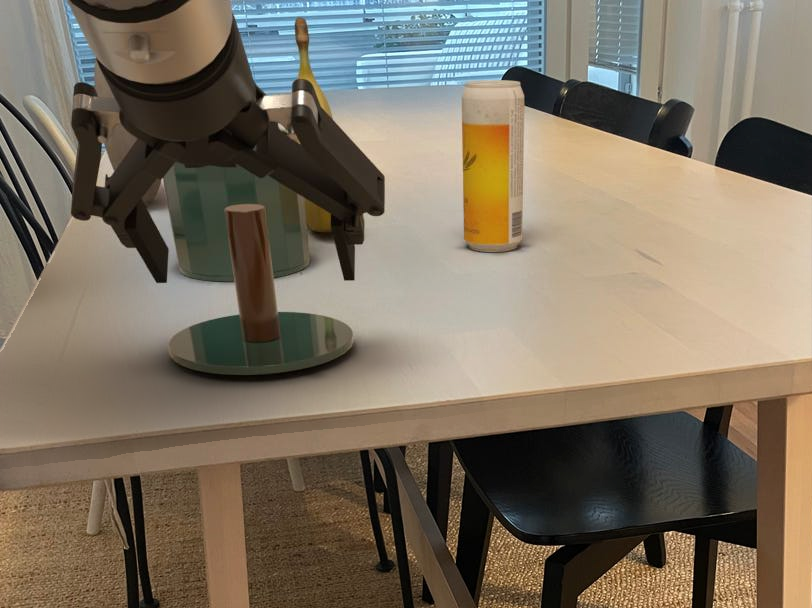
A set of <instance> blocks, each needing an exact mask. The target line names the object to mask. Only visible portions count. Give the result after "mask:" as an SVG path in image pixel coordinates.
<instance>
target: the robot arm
mask: <svg viewBox="0 0 812 608" xmlns="http://www.w3.org/2000/svg"><path fill="white" fill-rule="evenodd" d="M66 2H67V4H68V6H69V8H70V10H71V12H72V15H73V16H74V19H75V20H76V22H77V24H78V26H79V28H80V30H81V32H82V34H83V36H84V39H85V41H86V42H87V44H88V46H89V49H90V50H91V51H92V53H93V56H95V61H96V60H97V63H98V65H99V67H100V69H101V71H102V73H103V75H104V77H105V79H106V81H107V83H108V85H109V87H110V89H111V91H112V93H113V95H114V97H115V98H108V97H98V94H97V92H96V90H95V86H93V85H92V84H90V83H87V82H84V81H80V82H76V83H75V84H74V85H73V95H72V106H71V121H70V125H71V128H72V131H73V134H74V136H75V138H76V140H77V151H76V158H75V164H74V173H73V178H72V192H71V206H70V215H71V216H72V217H73V218H74V219H75V220H78V221H82V222H83V221H86V222H87V221H89V220H90V219H91V217H97V218H101V219H102V221H103V222H104V224H106V225H108V226H110V227H111V229H112V230H113V233H115V235H116V237H117V239H118V240H119V242H120V243H121V245H123V246H124V247H125V248H126V249H136V251H137V253H138V254H139V256H140V258H141V260H142V261H143V263H144V264H145V267H146V268H147V269H148V271H149V273H150V275H151V276H152V278H153V279H154V281H155V283H156V284H168V270H169V269H168V267H169V253H170V252H169V251H170V249H169V247H168V245H167V243H166V242H165V240H164V238H163V236H162V234H161V232H160V230H159V228H158V226H157V224H156V223H155V221H154V219H153V218H152V216H151V213H150V211H149V210H148V208H147V206H146V204H144V202H143V200H142V199H141V198H142V197H143V196H144V195H145V193H146V192H147V191H148V190H149V188H150V187H151V186H152V184H153V183H154V182H155V181H156V179H160V180H161V181H162V180H163V177H164V176H165V175H166V173H167V172H168V171H169V170H170V168H171V167H172V166H173V164H174V163H175V162H177V163H180V164H184V166H185V168H199V167H204V166H209V165H211V166H218V167H236V164H237V165H239V166H241V167H242V168H244V169H246V170H247V171H249V172H251V173H252V174H254V175H256V176H257V177H259V178H265V177H266V176H270V177H271V178H273V179H275V180H276V181H278V182H279V183H281V184H283V185H284V186H286V187H288V188H289V189H291V190H293V191H294V192H296V193H297V194H299V195H301V196H302V197H304V198H306V199H307V200H309V201H311V202H312V203H314V204H316V205H317V206H319V207H320V208H322V209H324V210H325V211H327V212H329V213H330V214H331V230H332V232H331V233H332V239H333V241H334V245H335V250H336V254H337V258H338V261H339V266H340V269H341V273H342V278H343V281H347V282H348V281H349V282H350V281H353V282H354V281H355V280H356V279H355V277H356V276H355V275H356V245H357V246H359V245H363V244H364V242H365V217H364V214H366V213H367V215H369V216H372V217H381V216H383V215H384V214H385V211H386V210H385V204H386V203H385V202H386V198H385V197H386V177H385V175H384V173H382V172H381V170H380V169H379V168H378V167H377V166H376V165H375V163H374V162H373V161H371V159H370V158H369V157H368V156H367V155H366V154H365V153H364V152H363V150H361V148H359V146H358V145H357V144H356V143H355V142H354V141H353V140H352V138H350V136H349V135H348V134H347V133H346V132H345V131H344V130H343V129H342V128H341V127H340V126H339V124H338V123H337V122H336V121H335V120H334V118H333V119H332V118H331V117H330V116H329V115H328V114H327V113H326V112H325V110H324V109H323V108H322V107H321V105H320V103H319V100H318V97H317V95H316V92H315V90H314V87H313V85H312V83H311V82H309V81H308V80H305V79H297V78H296V79H295V80H293V82H292V84H291V92H289V93H288V92H287V93H278V94H270V95H269V94H268V95H267V94H266V92H265V91H264V90H263V89H262V88H260V87H259V86H258V85H257V83H256V81H255V80H254V77H253V73H252V69H251V66H250V62H249V59H248V56H247V53H246V49H245V46H244V43H243V40H242V36H241V33H240V30H239V27H238V23H237V20H236V17H235V15H234V13H233V7H232V2H231V0H66ZM276 122H277V123H278V124H277V123H276ZM119 124H122V126H123V127H124V129H125V130H126V131H127V132H129V133H130V134H131V135H133V136H135V137H136V138H138V139H137V140H136V142H135V143H134V144H133V146H132V147H131V149H130V150H129V151H128V153H127V154H126V156H125V157H124V158H123V160H122V161H121V163H120V164H119V165H118V167H117V168H116V170H115V171H114V170H113V172H112V173H111V175H110V176H108V175H109V174H107V173H106V174H105V177H104V186H100V185H97V183H98V177H99V171H100V166H101V161H102V160H101V159H102V150H103V149H102V148H103V144H104V143H106V142H107V139H108V136H109V135H112V134H113V132H114V127H115V126H116V125H119ZM279 125H281V126H282V127H283V129H286V130H287V131H288V136H287V135H286V134H284V133H283V132H281V130H280V129H281V128H280V126H279ZM279 128H280V129H279ZM296 139H298V140H299V142H300V144H299V143H298V142H296V141H295V140H296ZM255 145H256V151H254V150H253V148H254V147H255Z"/></svg>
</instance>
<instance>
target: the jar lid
mask: <svg viewBox="0 0 812 608" xmlns="http://www.w3.org/2000/svg"><path fill="white" fill-rule="evenodd" d="M224 211H225V218H226V225H227V232H228V239H229V246H230V253H231V260H232V267H233V274H234V281H233V282H234V285H235V286H234V287H235V295H236V301H237V309H238V314H233V315H227V316H222V317H217V318H213V319H209V320H205V321H202V322H198V323H196V324H193V325H191V326H188V327H186V328H183V329H182V330H180V331H178V332H177V333H175V334H174V335H173V336H172V337H171V338H170V339H169V341H168V344H167V349H168V354H169V356H170V359H172V360H173V361H174V362H175V363H176V364H178V365H180V366H181V367H185V368H187V369H190V370H194V371H198V372H202V373H209V374H214V375H215V374H216V375H228V376H229V375H230V376H234V375H235V376H255V375H258V376H259V375H272V374H279V373H287V372H295V371H299V370H303V369H304V370H305V369H308V368H313V367H315V366H319V365H322V364H325V363H328V362H330V361H333V360H336V359H337V358H339V357H341V356H343V355H344V354H345V353H348V351H349V350H350V349H351V348H352V347H353V344H354V341H355V340H354V331H353V330H352V328H351V326H350V325H348V324H347V323H346V322H344V321H341V320H339V319H336V318H333V317H330V316H327V315H321V314H316V313H308V312H297V311H278V310H279V309H278V302H277V294H276V286H275V278H274V276H273V268H272V260H271V252H270V244H269V235H268V227H267V219H266V211H265V207H264V206H262V205H257V204H240V205H233V206H229V207H226V208H225V209H224Z"/></svg>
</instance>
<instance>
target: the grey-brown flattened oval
mask: <svg viewBox="0 0 812 608" xmlns="http://www.w3.org/2000/svg"><path fill="white" fill-rule="evenodd" d="M93 75H94V76H93V84H94V88H95V90H96V92H97V94H98V97H108V98H115V97H114V95H113V93H112V91H111V89H110V87H109V85H108V83H107V81H106V79H105V77H104V75H103V73H102V71H101V69H100V67H99V65H98V63H97V60H96V59H95V62H94V73H93ZM137 139H138V138H136V137H135V136H133V135H131V134H130V133H129V132H127V131H126V130H125V129H124V127H123V126H122V124H119V125H116V126H115V127H114V132H113V134H112V135H109V136H108V139H107V142H106V143H103V144H104V148H105V151H106V154H107V158H108V160H109V162H110V164H111V165H110V166H112V169H113V172H114V171H115V170H116V168H117V167H118V165H119V164H120V163H121V161H122V160H123V158H124V157H125V156H126V154H127V153H128V151H129V150H130V149H131V147H132V146H133V144H134V143H135V142H136V140H137ZM161 183H162V179H161V180H160V179H156V181H155V182H154V183H153V184H152V186H151V187H150V188H149V190H148V191H147V192H146V193H145V195H144V196H143V197H142V198H141V199H142V200H143V202H144V204H145V205H149V204H150V203H152V202H153V201H154V200H155V198H156V197H157V195H158V192H159V191H160V187H161Z"/></svg>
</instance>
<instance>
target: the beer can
mask: <svg viewBox="0 0 812 608" xmlns="http://www.w3.org/2000/svg"><path fill="white" fill-rule="evenodd" d="M461 138H462V140H461V142H462V145H461V146H462V147H461V148H462V195H463V197H462V202H463V203H462V205H463V207H462V208H463V240H464V241H465V242H466V243H467V244H468V247H469V249H471V250H473V251H475V252H482V253H502V252H503V253H505V252H509V251H513V250H515V249H517V248H518V245H519V243H520V242H521V241H522V240H523V219H524V217H523V216H524V213H523V212H524V156H525V155H524V154H525V153H524V151H525V149H524V147H525V146H524V145H525V144H524V142H525V94H524V91H523V88H522V86H521V82H520V81H517V80H507V79H506V80H505V79H504V80H502V79H499V80H498V79H491V80H490V79H486V80H471V81H467V82H465V86H464V89H463V92H462V94H461Z"/></svg>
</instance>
